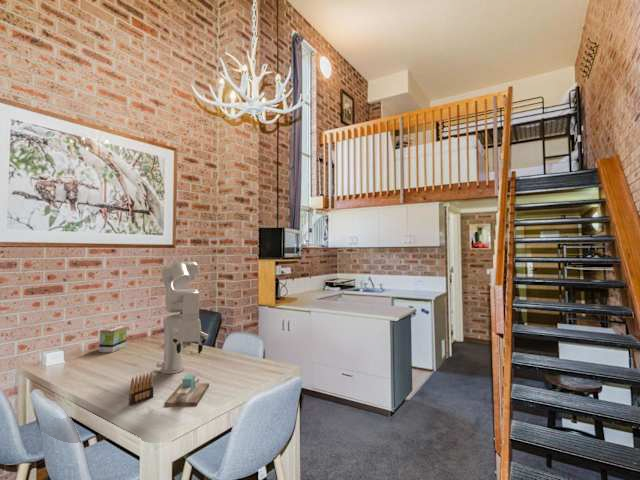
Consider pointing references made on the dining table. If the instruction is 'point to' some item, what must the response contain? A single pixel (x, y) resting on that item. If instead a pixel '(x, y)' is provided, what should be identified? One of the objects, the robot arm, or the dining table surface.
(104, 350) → the tea box
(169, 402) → the rail board
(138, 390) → the ammunition clip
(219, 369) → the dining table surface
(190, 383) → the teal module
